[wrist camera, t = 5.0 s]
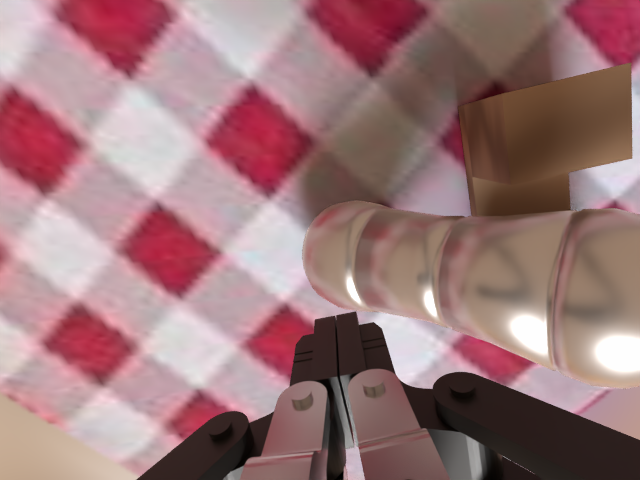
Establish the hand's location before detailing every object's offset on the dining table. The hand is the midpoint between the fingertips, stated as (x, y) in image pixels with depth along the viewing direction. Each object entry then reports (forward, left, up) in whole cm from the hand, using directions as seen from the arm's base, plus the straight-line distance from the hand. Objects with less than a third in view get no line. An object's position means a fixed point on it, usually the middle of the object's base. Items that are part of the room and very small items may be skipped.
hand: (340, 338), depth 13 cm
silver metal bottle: (0, -1, -12) cm, 12 cm away
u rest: (0, +13, -13) cm, 18 cm away
